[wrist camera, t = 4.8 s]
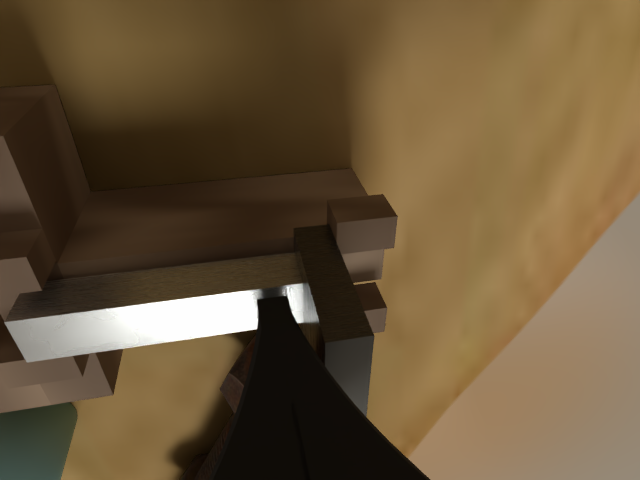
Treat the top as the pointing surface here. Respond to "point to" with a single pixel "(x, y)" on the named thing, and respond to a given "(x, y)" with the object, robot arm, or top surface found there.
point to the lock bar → (205, 308)
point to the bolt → (232, 390)
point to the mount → (148, 234)
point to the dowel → (36, 442)
